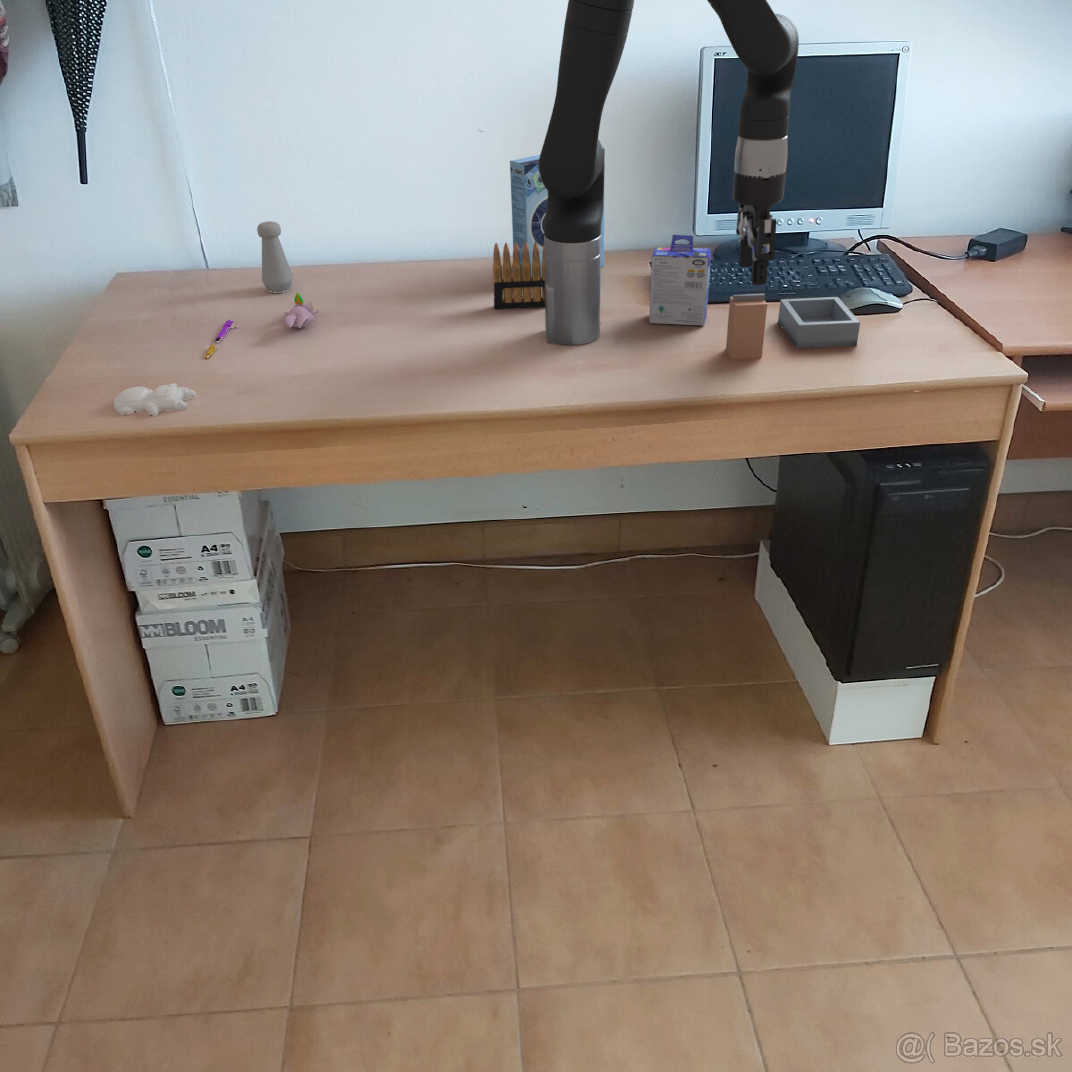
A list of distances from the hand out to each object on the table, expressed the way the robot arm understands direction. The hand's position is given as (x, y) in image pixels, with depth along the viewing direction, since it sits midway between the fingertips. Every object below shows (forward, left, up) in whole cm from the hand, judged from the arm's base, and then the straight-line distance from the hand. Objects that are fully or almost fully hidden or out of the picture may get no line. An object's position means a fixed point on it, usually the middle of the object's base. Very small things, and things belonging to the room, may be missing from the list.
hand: (752, 275), depth 157 cm
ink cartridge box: (-8, +16, -13) cm, 22 cm away
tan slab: (0, 0, -13) cm, 13 cm away
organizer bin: (+14, +7, -13) cm, 20 cm away
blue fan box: (-27, +43, -13) cm, 53 cm away
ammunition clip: (-35, +26, -13) cm, 46 cm away
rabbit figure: (-75, +21, -13) cm, 79 cm away
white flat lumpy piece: (-93, -9, -14) cm, 95 cm away
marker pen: (-88, +16, -14) cm, 90 cm away
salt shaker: (-82, +41, -13) cm, 93 cm away
